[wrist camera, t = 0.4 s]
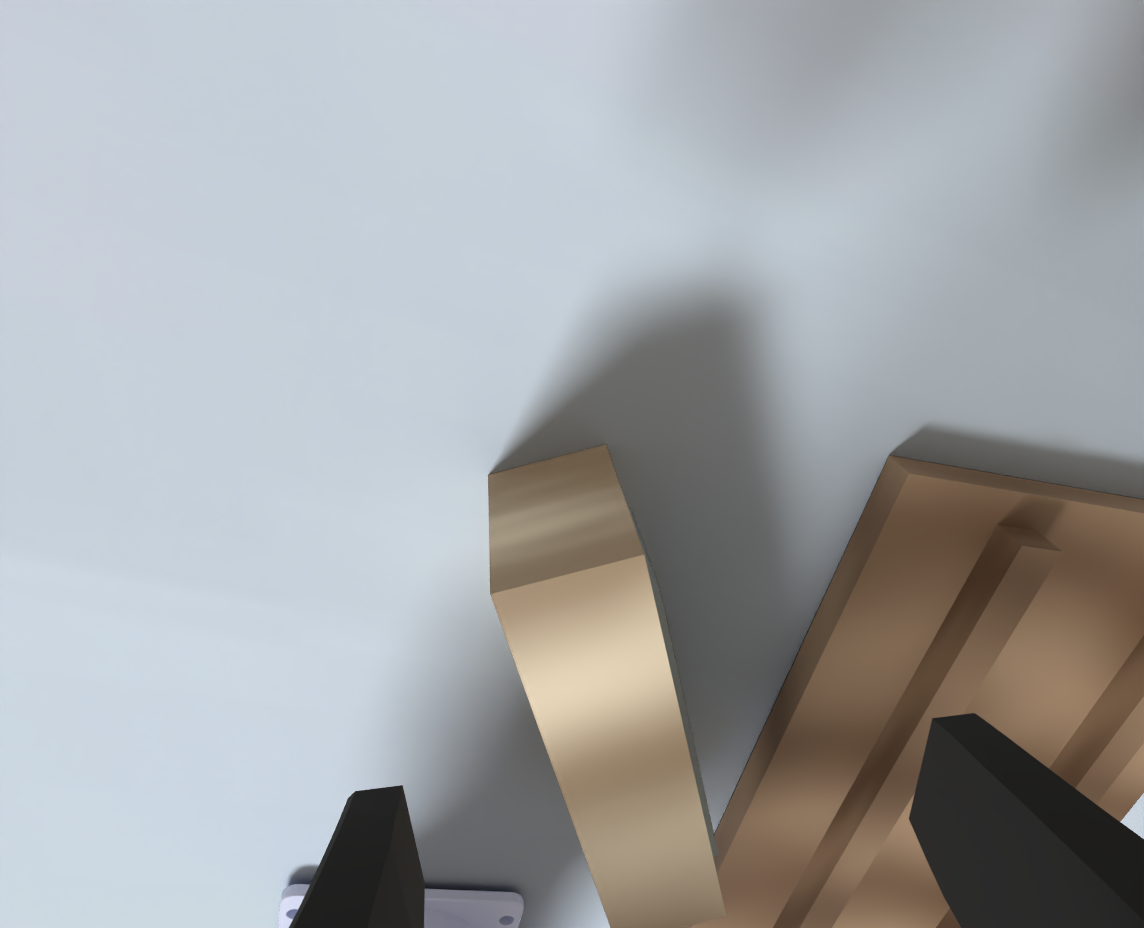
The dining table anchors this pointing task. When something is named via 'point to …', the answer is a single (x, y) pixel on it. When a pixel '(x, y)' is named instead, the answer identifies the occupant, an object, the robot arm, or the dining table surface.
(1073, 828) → the robot arm
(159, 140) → the dining table surface
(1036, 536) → the picture ledge
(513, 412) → the dining table surface
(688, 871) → the beige long rectangular block
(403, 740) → the dining table surface
